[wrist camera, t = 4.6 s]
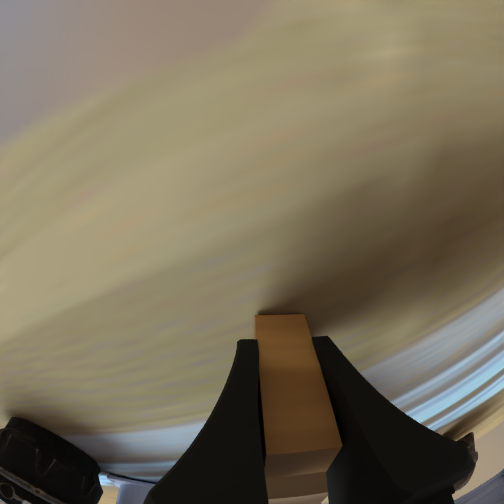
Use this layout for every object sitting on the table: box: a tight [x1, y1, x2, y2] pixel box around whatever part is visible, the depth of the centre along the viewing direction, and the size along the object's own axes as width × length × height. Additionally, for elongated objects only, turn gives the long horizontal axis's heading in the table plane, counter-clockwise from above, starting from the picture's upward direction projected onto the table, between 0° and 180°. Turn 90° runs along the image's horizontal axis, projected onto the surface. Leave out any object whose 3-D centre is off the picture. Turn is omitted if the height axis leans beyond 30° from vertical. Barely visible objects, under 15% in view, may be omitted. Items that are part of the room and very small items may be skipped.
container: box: [0, 417, 103, 504], centre depth 15 cm, size 13×13×10 cm
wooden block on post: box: [254, 314, 342, 504], centre depth 11 cm, size 12×5×6 cm, turn 179°
